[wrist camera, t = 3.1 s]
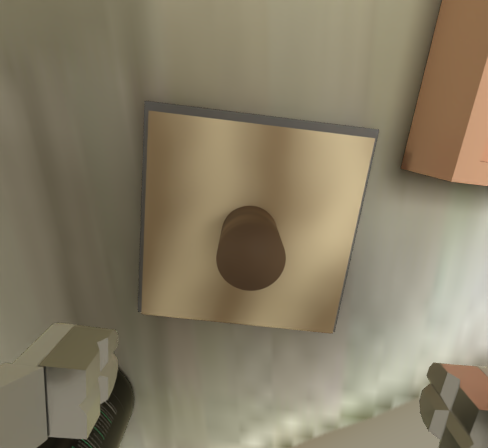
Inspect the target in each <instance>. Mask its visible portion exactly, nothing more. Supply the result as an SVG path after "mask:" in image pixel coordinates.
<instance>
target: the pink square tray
mask: <svg viewBox="0 0 488 448" xmlns="http://www.w3.org/2000/svg"><path fill="white" fill-rule="evenodd" d="M401 169H404V170H408V171H412V172H416V173H420V174H424V175H427V176H431V177H435V178H439V179H443V180H447V181H450V182H458V183H466V184H475V185H483V186H488V0H442V3H441V7H440V11H439V15H438V19H437V23H436V27H435V31H434V35H433V39H432V43H431V47H430V51H429V55H428V60H427V64H426V68H425V72H424V76H423V80H422V84H421V88H420V92H419V96H418V100H417V104H416V108H415V112H414V116H413V121H412V125H411V129H410V133H409V137H408V141H407V145H406V149H405V153H404V157H403V161H402V165H401Z"/></svg>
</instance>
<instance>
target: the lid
mask: <svg viewBox="0 0 488 448" xmlns="http://www.w3.org/2000/svg"><path fill="white" fill-rule="evenodd" d="M374 142H375V138H368V137H360V136H352V135H344V134H336V133H328V132H319V131H311V130H303V129H295V128H287V127H279V126H270V125H262V124H254V123H246V122H238V121H230V120H222V119H213V118H205V117H197V116H189V115H181V114H173V113H164V112H156V111H149V114H148V142H147V170H146V198H145V226H144V254H143V281H142V309H141V314H145V315H155V316H165V317H175V318H185V319H194V320H204V321H214V322H224V323H234V324H244V325H254V326H263V327H273V328H283V329H293V330H303V331H313V332H322V333H333V329H334V324H335V320H336V315H337V311H338V306H339V301H340V297H341V292H342V288H343V283H344V279H345V274H346V270H347V265H348V260H349V256H350V251H351V247H352V242H353V238H354V233H355V229H356V224H357V219H358V215H359V210H360V206H361V201H362V197H363V192H364V188H365V183H366V178H367V174H368V169H369V165H370V160H371V156H372V151H373V147H374Z"/></svg>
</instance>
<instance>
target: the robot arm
mask: <svg viewBox="0 0 488 448" xmlns="http://www.w3.org/2000/svg"><path fill="white" fill-rule="evenodd" d="M117 346H118V332H117V331H116V329H108V328H100V327H92V326H84V325H75V324H66V323H55V324H52V325H51V326H50V327H49V328H48V329H47V330H46V331H45V332H44V333H43V334H42V335H41V336H40V337H39V338H38V339H37V340H36V341H35V342H34V343H33V344H32V345H31V346H30V347H29V348H28V349H27V350H26V351H25V352H24V353H23V354H22V355H21V356H20V357H19V358H18V359H16V360H15V361H14V362H13V363H12V364H9V363H5V364H2V365H0V448H37V447H38V446H40V445H41V444H42V443H43V442H45V441H46V440H47V439H48V437H58V438H73V439H87V438H88V437H89V435H90V433H91V431H92V429H93V427H94V425H95V423H96V421H97V419H98V418H99V416H100V404H102V403H103V402H105V401H106V400H108V398H109V396H110V394H111V392H112V390H113V387H114V384H115V381H116V378H117V371H118V359H117V357H116V356H115V355H114V351H115V349H116V347H117ZM427 378H428V380H429V382H430V384H429V385H428V386H426V387H425V388H424V389H423V390H422V392H421V396H420V400H419V403H420V414H421V417H422V419H423V422H424V424H425V425H426V427H427V429H428V431H430V432H431V433H432V434H433V435H435V436H436V437H437V438H438V439H440V442H439V448H488V367H486V366H466V365H455V364H444V363H433V364H432V365H431V366H430V367H429V370H428V373H427Z"/></svg>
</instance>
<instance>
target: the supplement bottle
mask: <svg viewBox="0 0 488 448" xmlns="http://www.w3.org/2000/svg"><path fill="white" fill-rule="evenodd" d="M133 406H134V395H133V391H132V388H131V386H130V383H129V382H128V380H127V378H126V377H125V376H124V375H123V374H122V373H121V372H120V371H119V370H118V371H117V378H116V381H115V384H114V387H113V390H112V392H111V394H110V396H109V398H108V400H106V401H105V402H103V403H102V404H100V416H99V418H98V419H97V421H96V423H95V425H94V427H93V429H92V431H91V433H90V435H89V437H88V438H87V439H73V438H58V437H48V439H47V440H46V441H45V442H43V443H42V444H41V445H40V446H38V447H37V448H119V446H120V443H121V441H122V438H123V435H124V433H125V430H126V428H127V425H128V422H129V420H130V417H131V414H132V411H133Z"/></svg>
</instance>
